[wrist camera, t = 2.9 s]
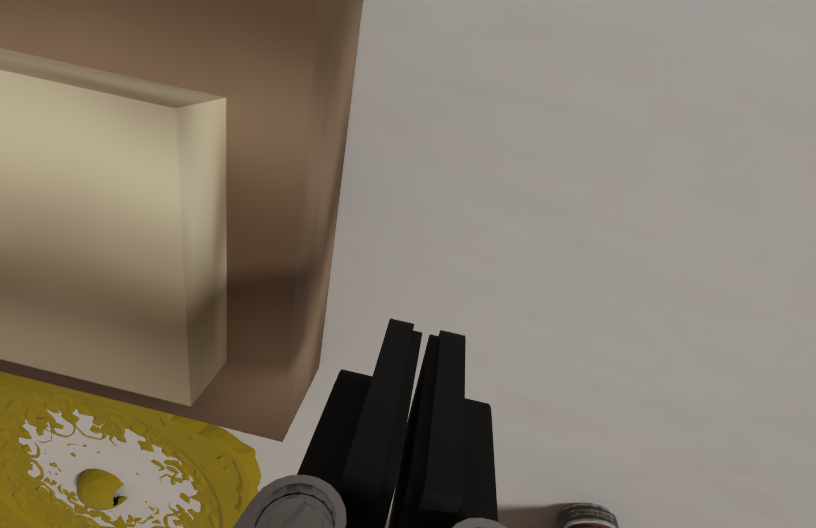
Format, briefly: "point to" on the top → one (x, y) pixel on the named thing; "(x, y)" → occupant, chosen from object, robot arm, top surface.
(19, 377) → the decorative medallion
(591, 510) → the lighter
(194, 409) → the brown flat block
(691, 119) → the top surface
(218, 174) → the tile
